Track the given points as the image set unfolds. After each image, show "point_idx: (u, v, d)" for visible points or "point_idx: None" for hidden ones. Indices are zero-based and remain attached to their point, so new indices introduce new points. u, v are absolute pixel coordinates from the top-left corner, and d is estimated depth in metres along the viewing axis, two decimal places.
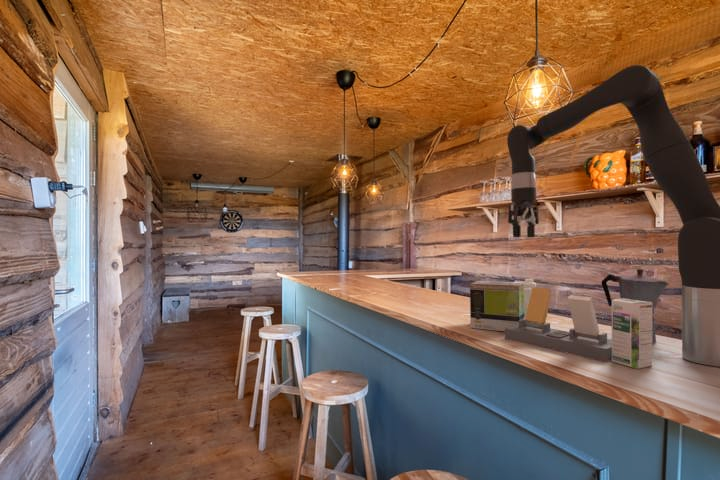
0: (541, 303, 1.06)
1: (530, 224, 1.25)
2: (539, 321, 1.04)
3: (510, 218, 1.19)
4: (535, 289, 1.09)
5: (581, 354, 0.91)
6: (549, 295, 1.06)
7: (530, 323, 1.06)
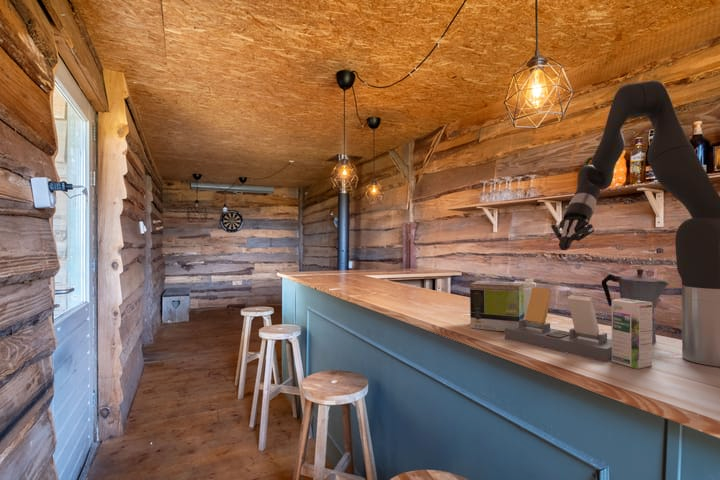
0: (541, 303, 1.06)
1: None
2: (539, 321, 1.04)
3: None
4: (535, 289, 1.09)
5: (581, 354, 0.91)
6: (549, 295, 1.06)
7: (530, 323, 1.06)
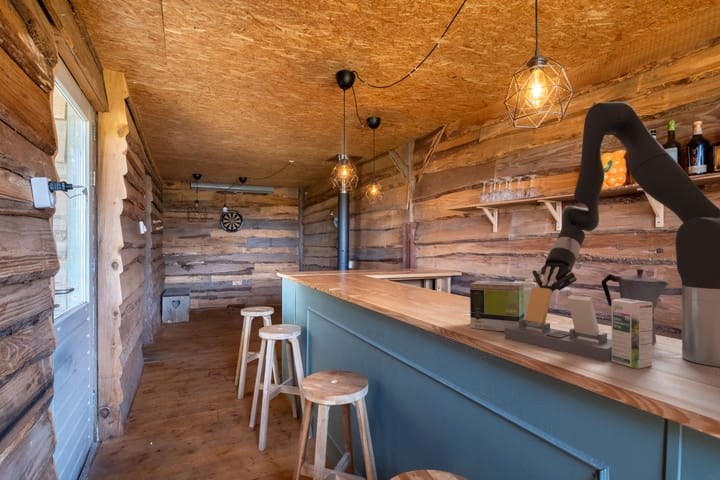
0: (541, 303, 1.06)
1: None
2: (539, 321, 1.04)
3: None
4: (535, 289, 1.09)
5: (581, 354, 0.91)
6: (549, 295, 1.06)
7: (530, 323, 1.06)
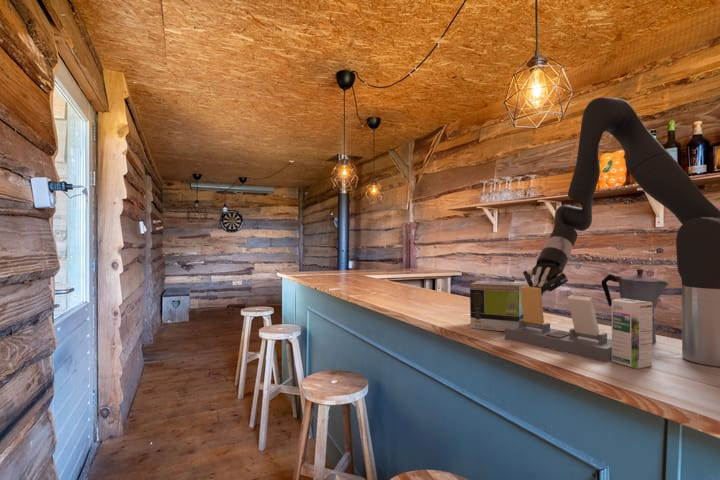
0: (534, 304, 1.03)
1: None
2: (538, 323, 1.04)
3: None
4: (524, 289, 1.05)
5: (581, 354, 0.91)
6: (539, 294, 1.03)
7: (530, 324, 1.06)
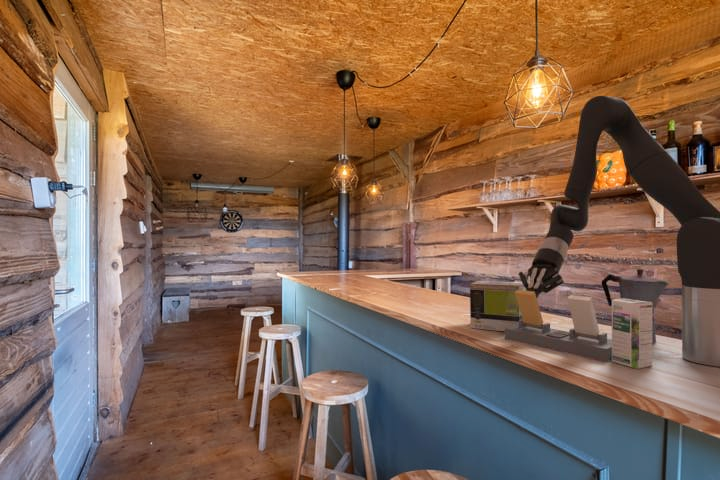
0: (531, 308, 1.02)
1: None
2: (537, 324, 1.03)
3: None
4: (518, 295, 1.04)
5: (581, 354, 0.91)
6: (534, 298, 1.01)
7: (530, 325, 1.06)
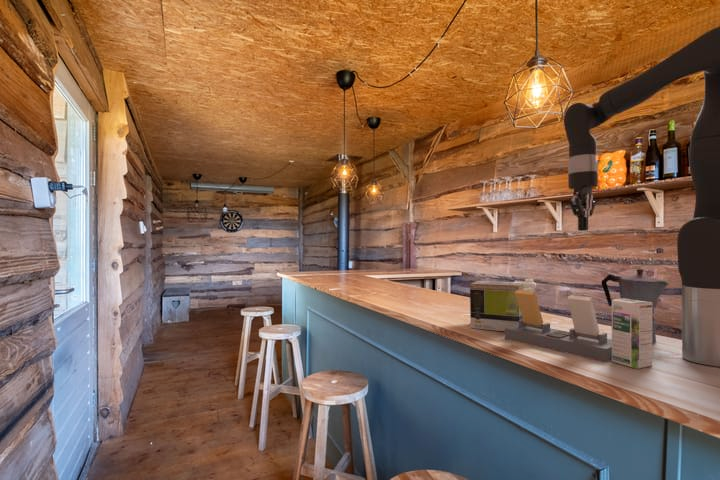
0: (531, 308, 1.02)
1: None
2: (537, 324, 1.03)
3: (575, 211, 1.09)
4: (518, 295, 1.04)
5: (581, 354, 0.91)
6: (534, 298, 1.01)
7: (530, 325, 1.06)
